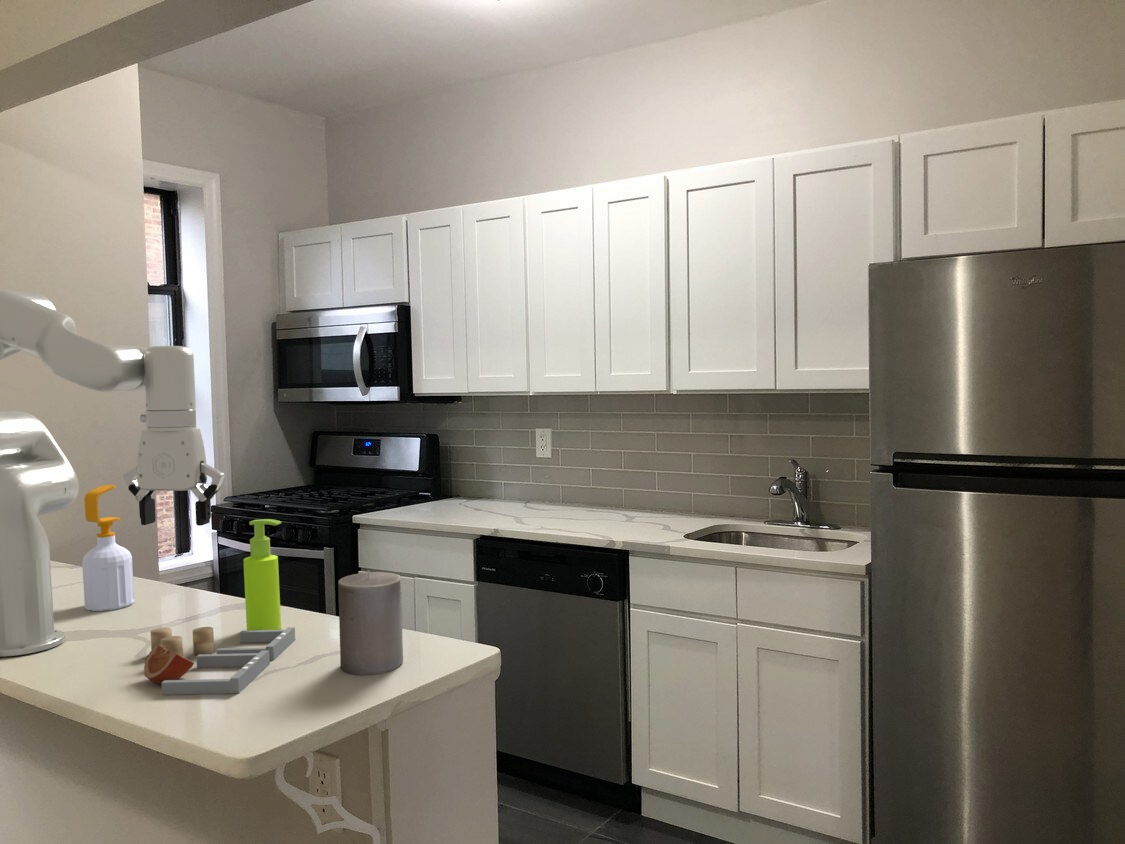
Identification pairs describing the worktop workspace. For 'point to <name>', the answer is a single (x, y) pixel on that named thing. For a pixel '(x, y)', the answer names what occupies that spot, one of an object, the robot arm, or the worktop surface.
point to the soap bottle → (106, 563)
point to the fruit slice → (165, 665)
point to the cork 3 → (203, 641)
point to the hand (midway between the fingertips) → (175, 523)
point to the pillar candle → (370, 623)
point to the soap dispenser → (262, 581)
